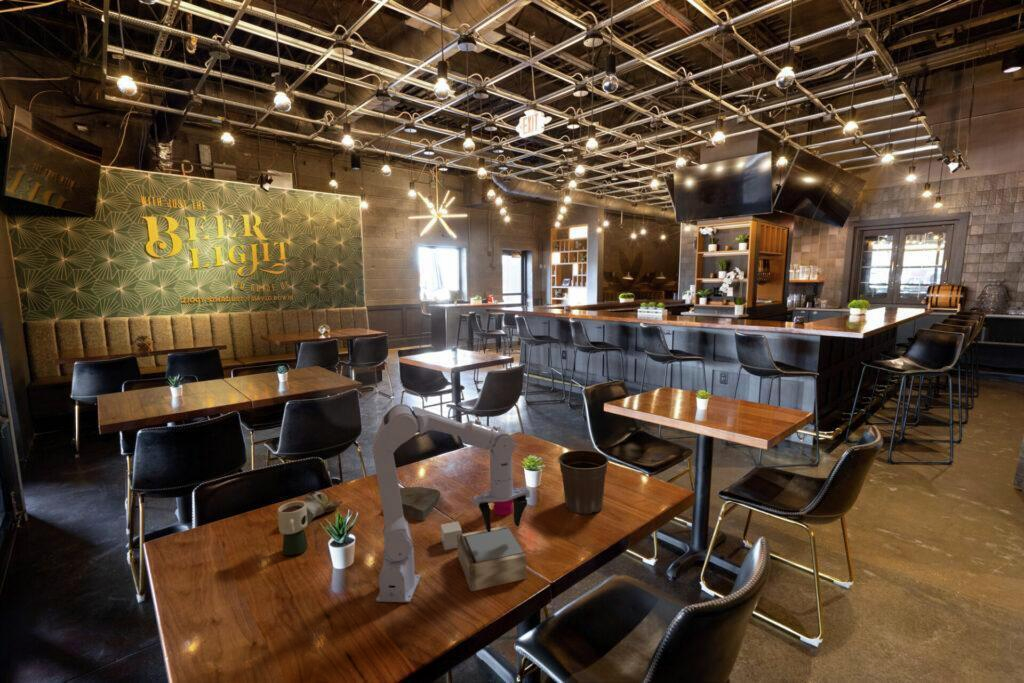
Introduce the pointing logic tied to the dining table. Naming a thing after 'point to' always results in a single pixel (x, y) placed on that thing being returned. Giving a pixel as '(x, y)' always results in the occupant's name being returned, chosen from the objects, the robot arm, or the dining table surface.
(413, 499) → the dark grey rock slab
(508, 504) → the pepper mill
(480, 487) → the dining table surface
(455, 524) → the pale grey cube
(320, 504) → the ceramic sculpture
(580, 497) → the plant pot
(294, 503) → the character mug
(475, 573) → the frame
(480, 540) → the trapdoor flap
